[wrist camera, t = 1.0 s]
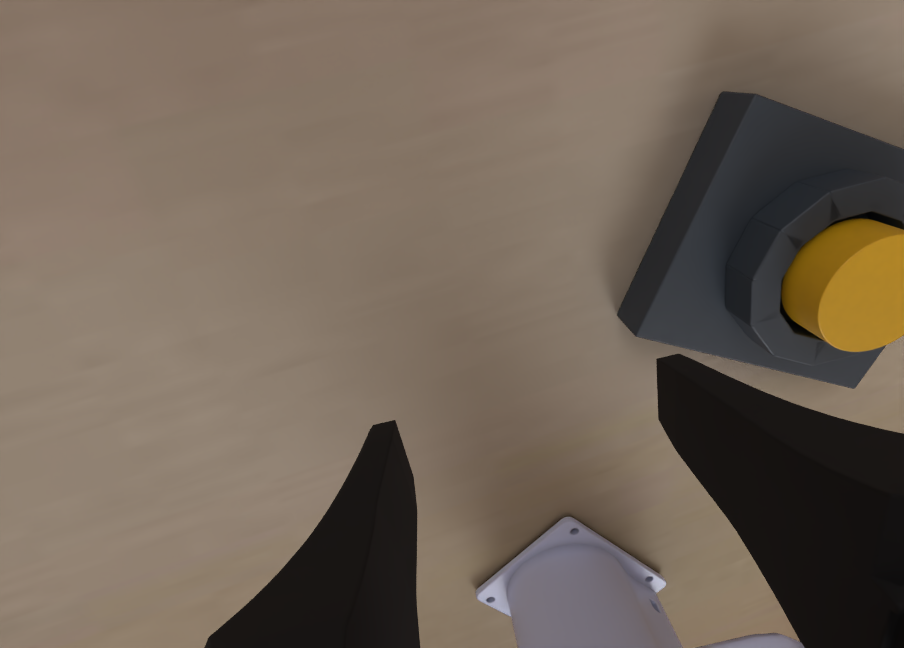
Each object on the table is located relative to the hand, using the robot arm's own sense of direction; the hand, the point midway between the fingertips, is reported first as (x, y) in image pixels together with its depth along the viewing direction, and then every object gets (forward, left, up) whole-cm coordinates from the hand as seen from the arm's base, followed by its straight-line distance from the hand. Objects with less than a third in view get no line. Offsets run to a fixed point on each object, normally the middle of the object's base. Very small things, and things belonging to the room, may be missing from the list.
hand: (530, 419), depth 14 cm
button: (-9, -10, -6) cm, 15 cm away
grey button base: (-9, -10, -10) cm, 17 cm away
